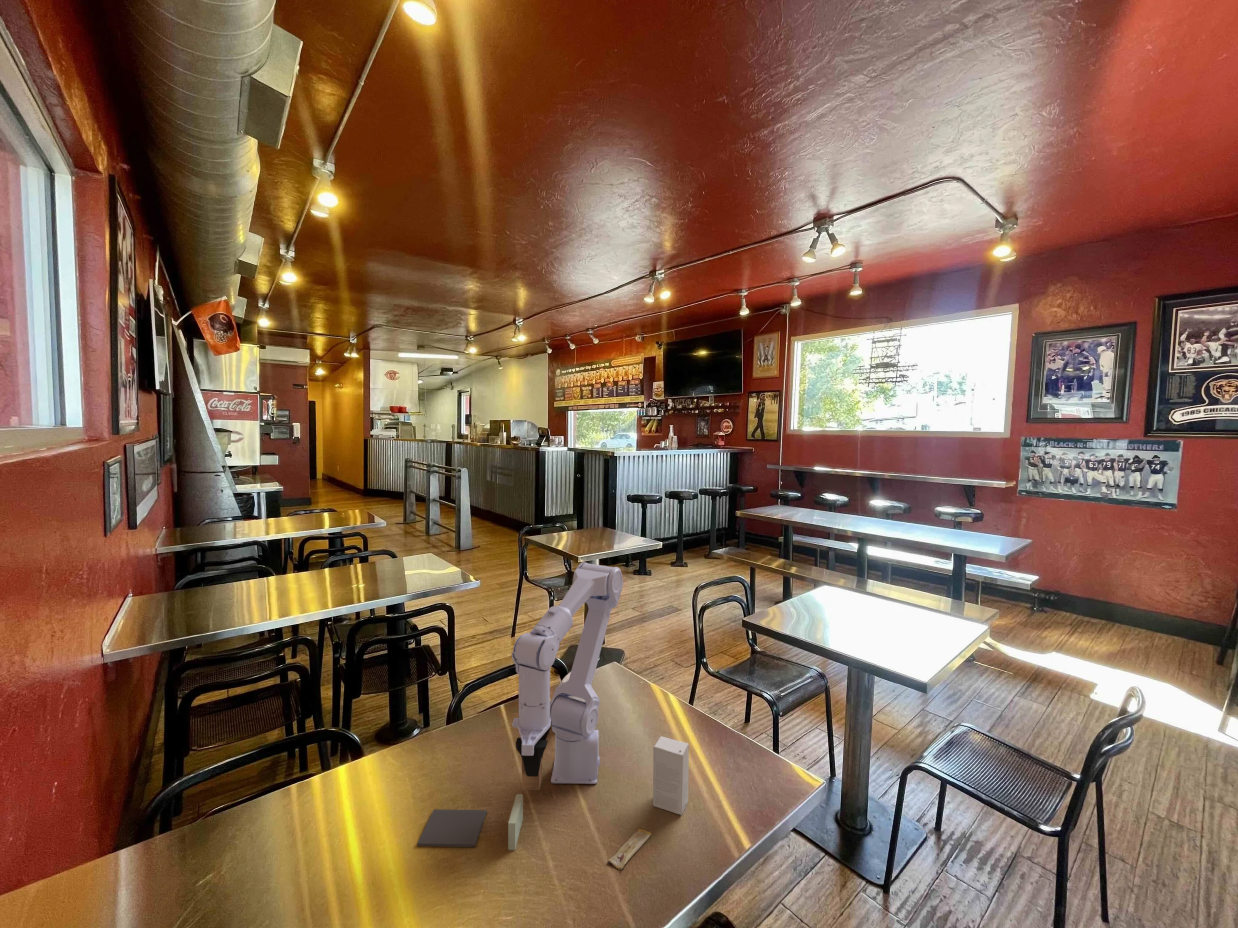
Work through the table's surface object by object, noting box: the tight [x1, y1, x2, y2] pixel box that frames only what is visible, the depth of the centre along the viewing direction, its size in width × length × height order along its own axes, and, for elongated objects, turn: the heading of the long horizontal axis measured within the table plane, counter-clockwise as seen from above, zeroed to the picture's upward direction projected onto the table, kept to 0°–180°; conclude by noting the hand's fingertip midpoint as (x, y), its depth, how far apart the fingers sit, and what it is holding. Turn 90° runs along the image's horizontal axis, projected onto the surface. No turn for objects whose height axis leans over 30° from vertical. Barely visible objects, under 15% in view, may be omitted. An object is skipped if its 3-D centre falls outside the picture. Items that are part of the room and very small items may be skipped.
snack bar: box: [606, 828, 652, 871], centre depth 89 cm, size 10×2×3 cm
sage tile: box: [507, 793, 524, 851], centre depth 92 cm, size 1×7×5 cm, turn 0°
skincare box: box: [652, 735, 690, 816], centre depth 100 cm, size 6×4×12 cm
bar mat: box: [416, 809, 488, 848], centre depth 93 cm, size 10×8×1 cm
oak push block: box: [521, 758, 543, 791], centre depth 97 cm, size 3×3×7 cm
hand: (534, 768), depth 97 cm, fingers closed on oak push block, 3 cm apart
